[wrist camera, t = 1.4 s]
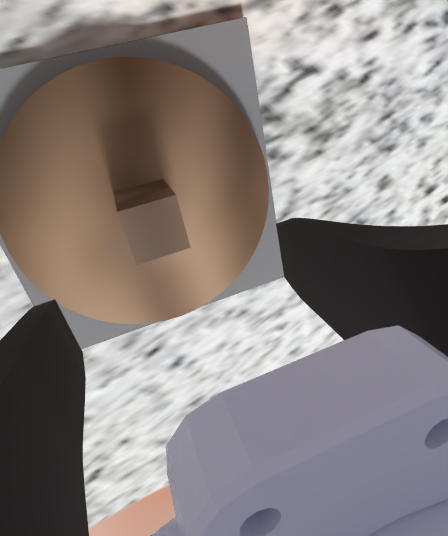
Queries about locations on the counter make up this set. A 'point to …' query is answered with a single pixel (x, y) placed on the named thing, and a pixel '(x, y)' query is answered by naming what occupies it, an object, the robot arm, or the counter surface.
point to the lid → (131, 190)
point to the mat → (197, 61)
